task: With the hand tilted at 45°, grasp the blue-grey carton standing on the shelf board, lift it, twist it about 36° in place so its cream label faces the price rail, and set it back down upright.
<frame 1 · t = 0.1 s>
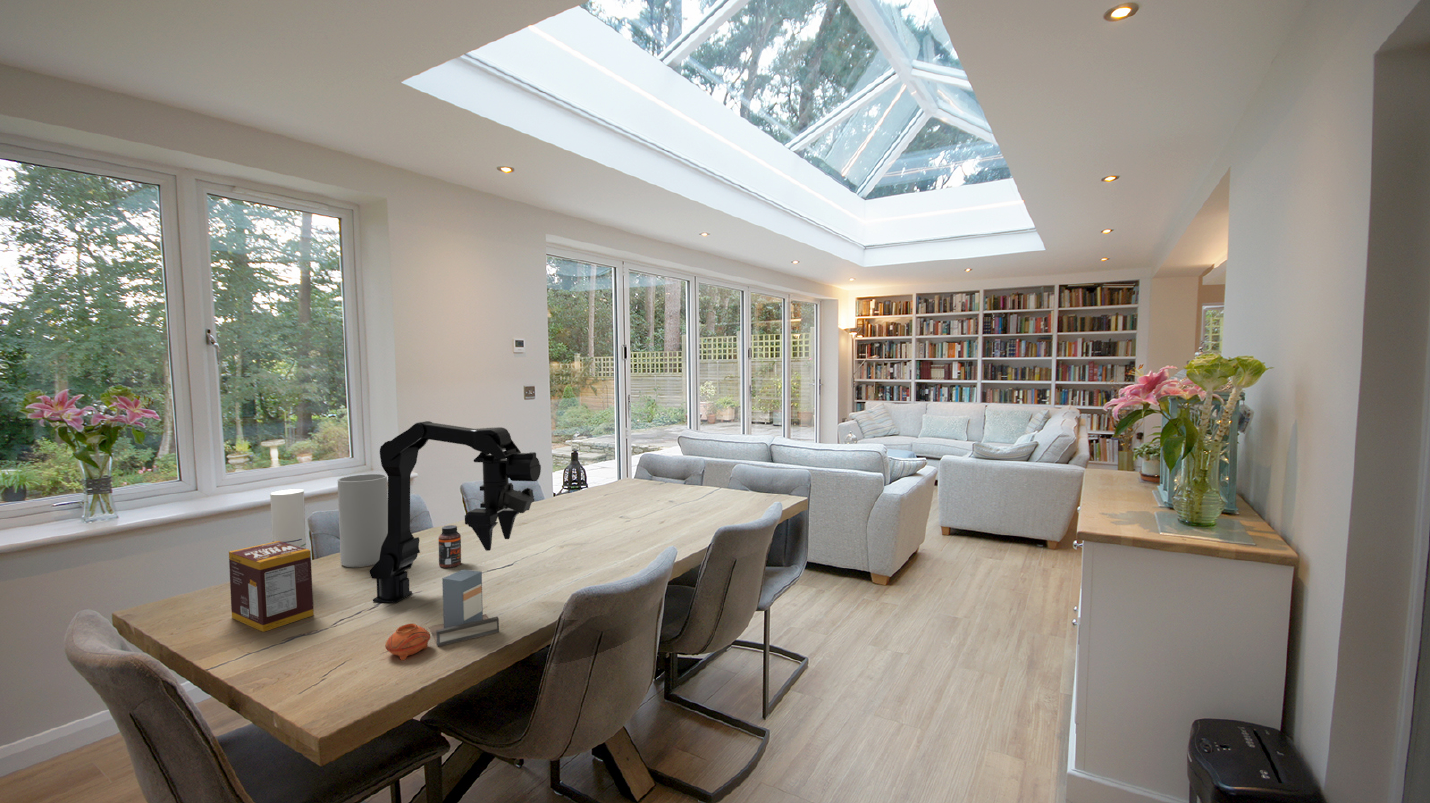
hand: (497, 544, 144), 15 cm above the table, tool pointing down, fingers open, 9 cm apart
blue-grey carton: (463, 629, 128), point 1 cm above the table, touching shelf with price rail
supplement box: (272, 617, 138), on the table
cylinder vase: (365, 561, 178), on the table
cylindrical container: (291, 586, 157), on the table
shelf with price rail: (463, 634, 128), on the table
supplement bottle: (450, 565, 174), on the table
pot: (408, 657, 119), on the table
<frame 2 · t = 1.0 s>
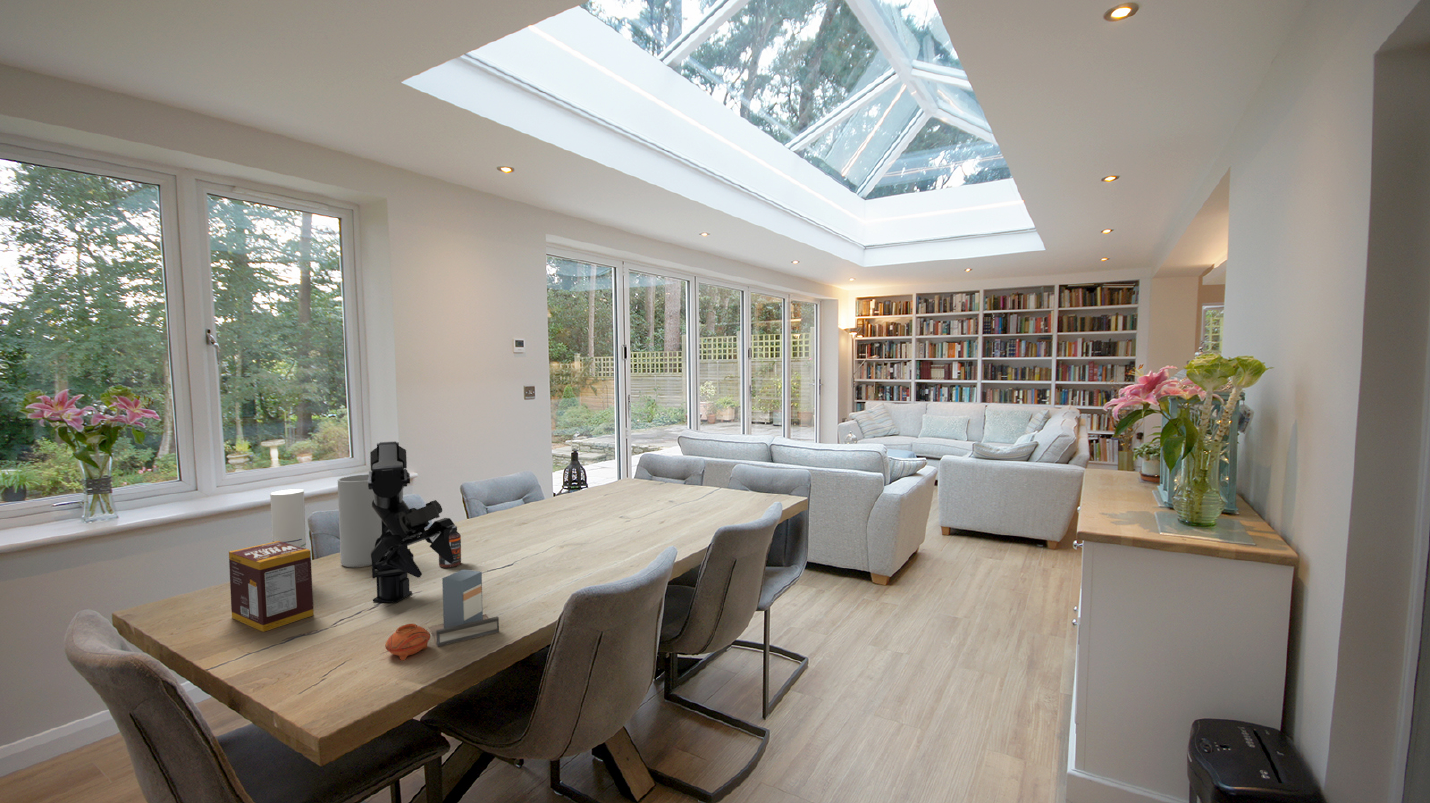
hand: (436, 569, 131), 13 cm above the table, tool tilted 45°, fingers open, 9 cm apart
nothing on the table moved.
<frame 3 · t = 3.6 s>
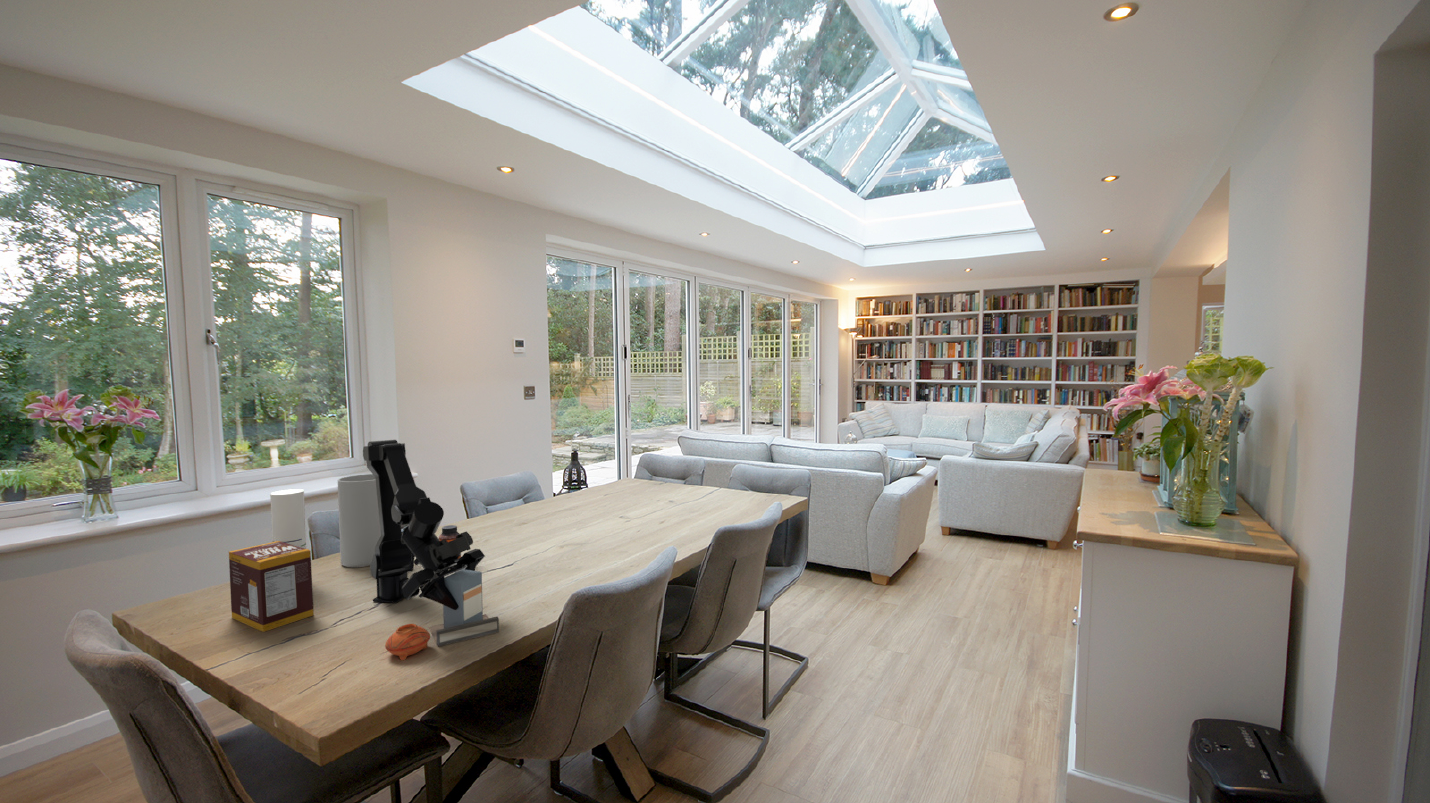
hand: (468, 602, 128), 7 cm above the table, tool tilted 45°, fingers closed on blue-grey carton, 6 cm apart
blue-grey carton: (463, 629, 128), point 1 cm above the table, touching gripper, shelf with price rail
everything else where it was.
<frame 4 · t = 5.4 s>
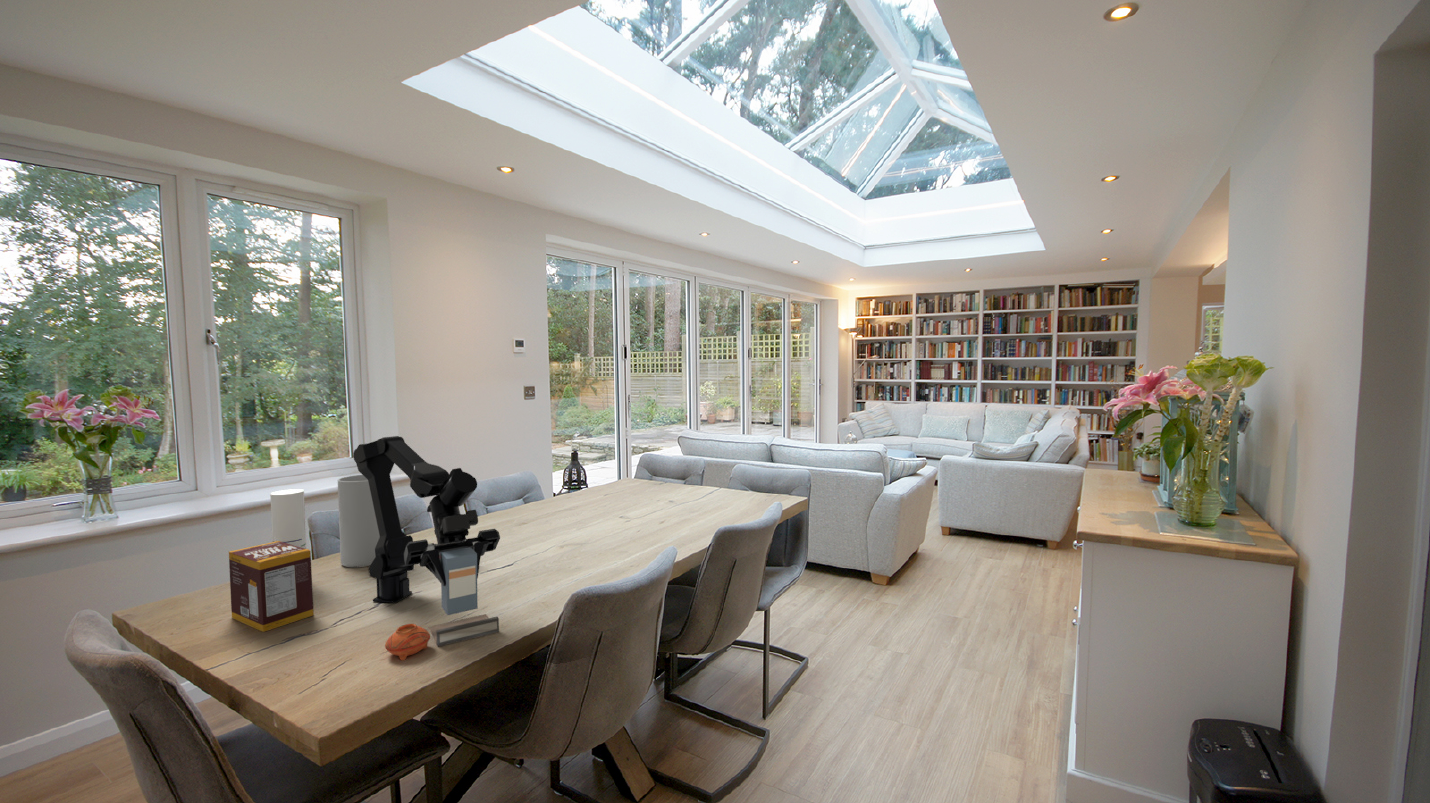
hand: (460, 581, 126), 12 cm above the table, tool tilted 45°, fingers closed on blue-grey carton, 6 cm apart
blue-grey carton: (459, 607, 128), point 6 cm above the table, touching gripper
everything else where it was.
when the fingers open (8 cm above the table, at t = 7.2 s): blue-grey carton drops 1 cm, resting on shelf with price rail.
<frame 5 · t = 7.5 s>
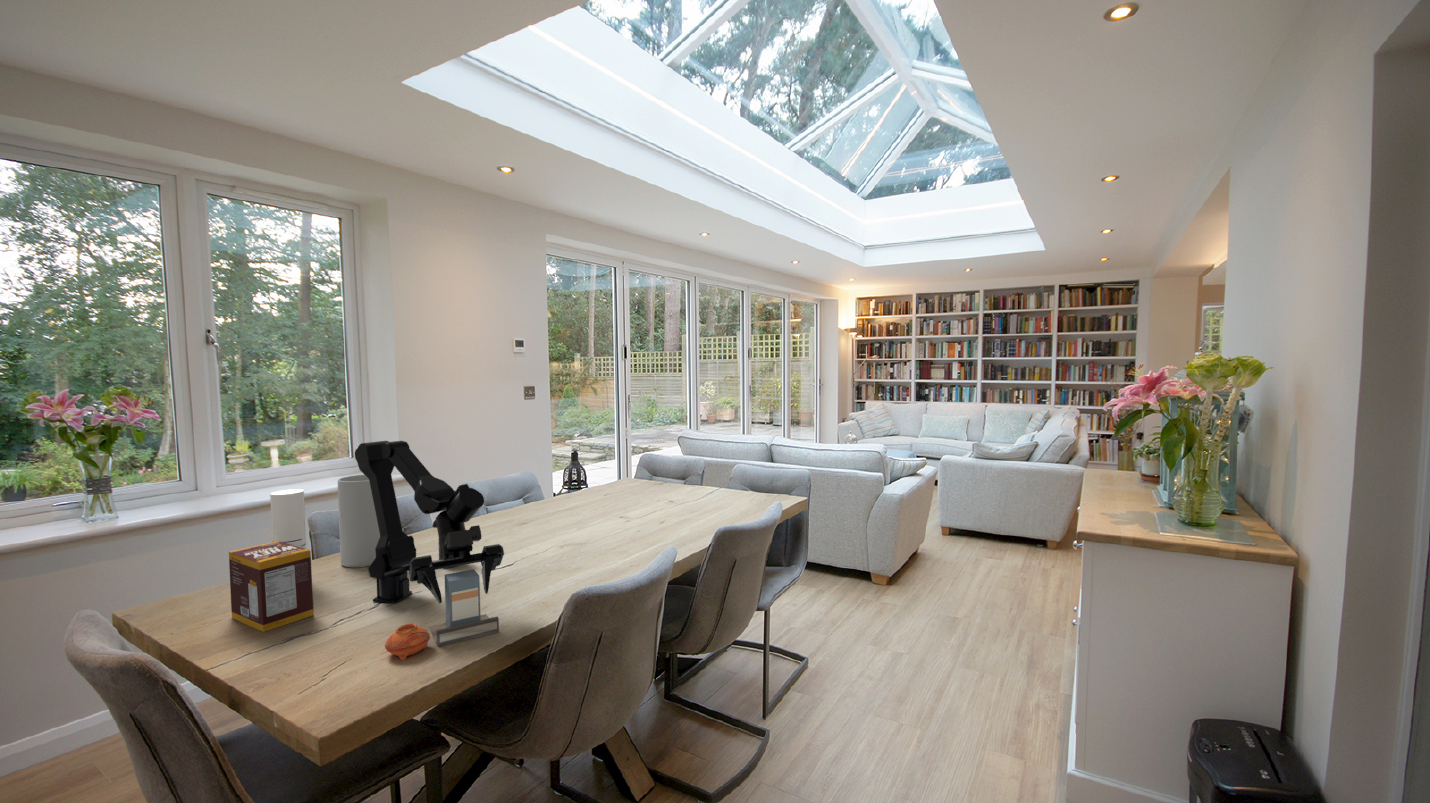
hand: (464, 597, 127), 9 cm above the table, tool tilted 45°, fingers open, 9 cm apart
blue-grey carton: (463, 629, 128), point 1 cm above the table, touching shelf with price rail
everything else where it was.
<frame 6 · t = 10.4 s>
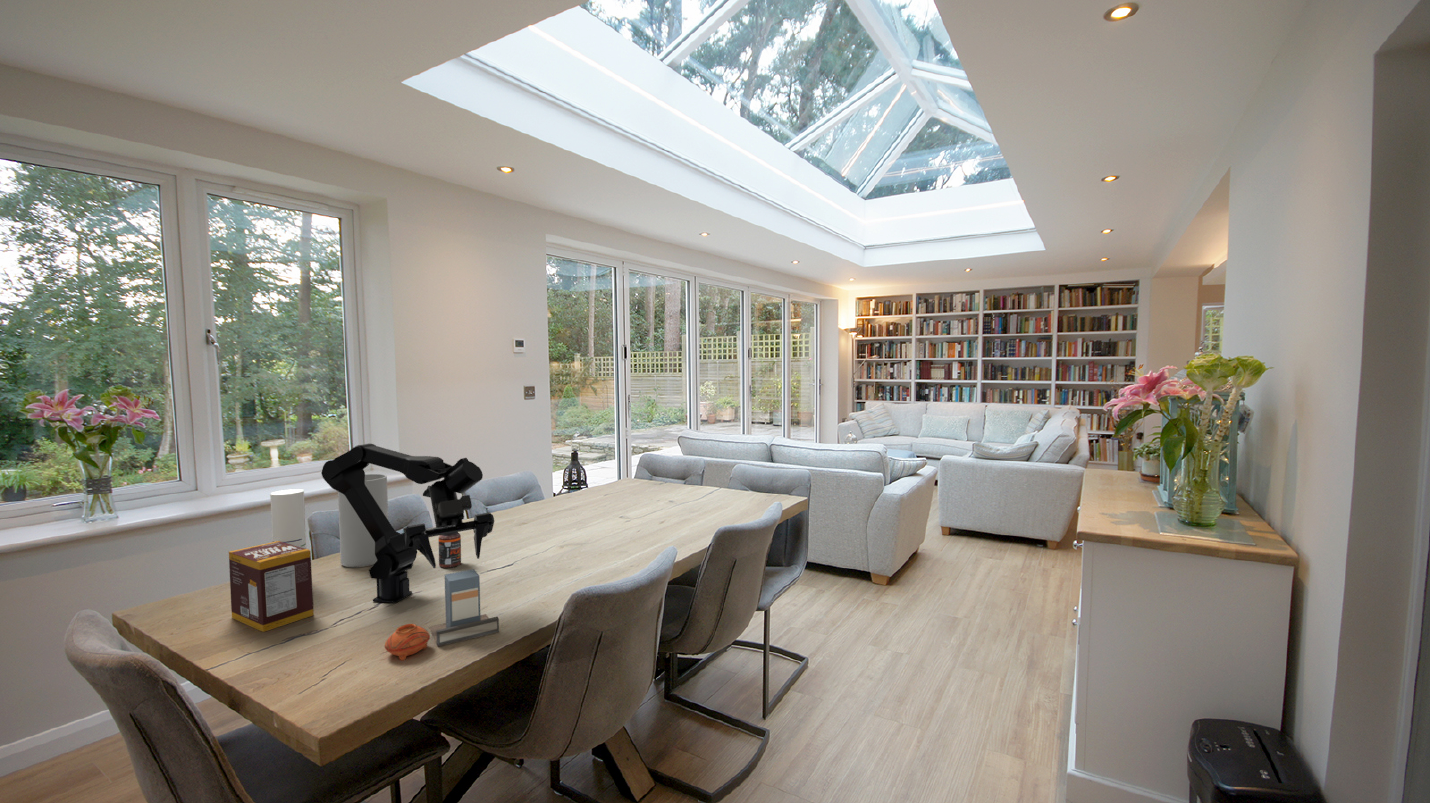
hand: (457, 562, 135), 13 cm above the table, tool tilted 45°, fingers open, 9 cm apart
nothing on the table moved.
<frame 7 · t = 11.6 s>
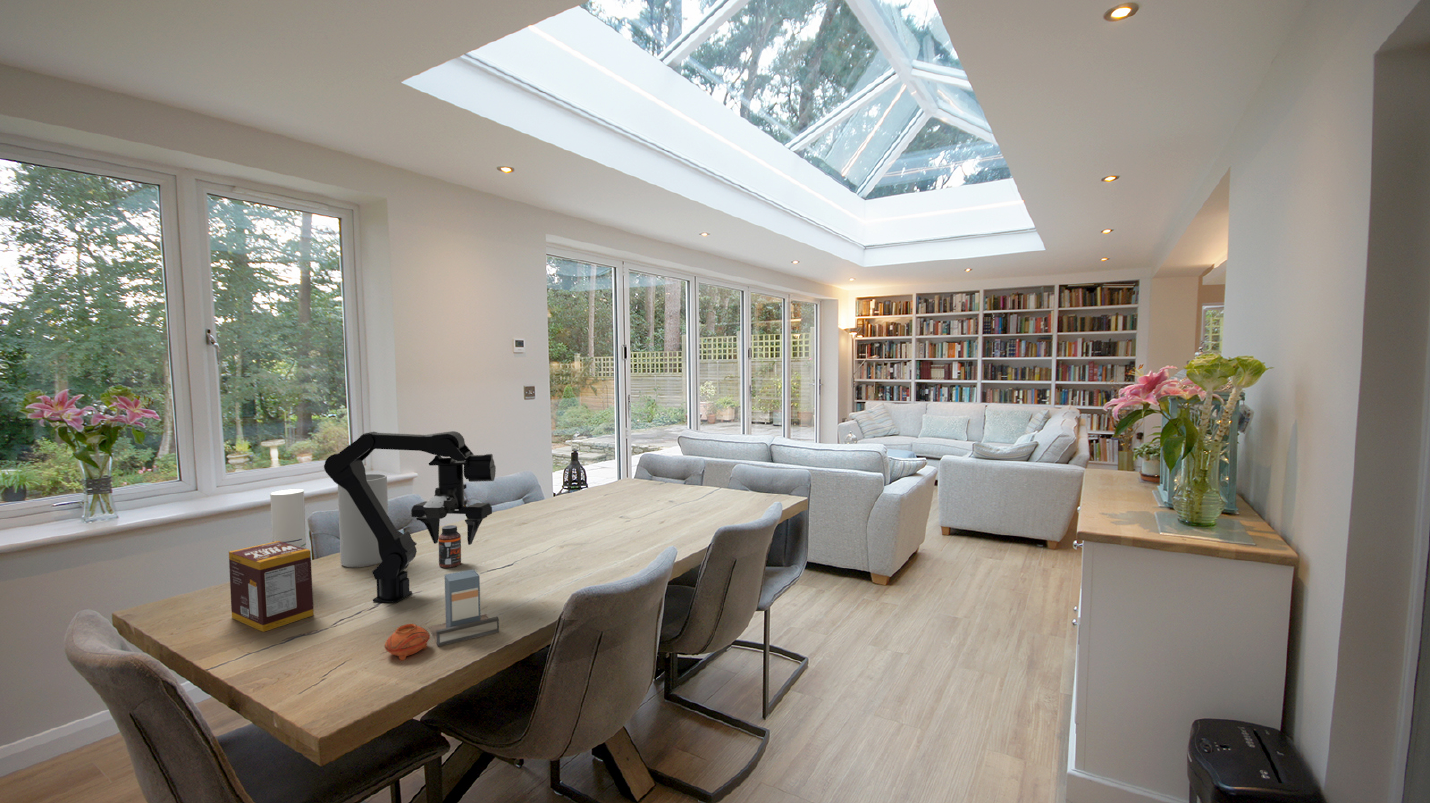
hand: (452, 543, 150), 13 cm above the table, tool pointing down, fingers open, 9 cm apart
nothing on the table moved.
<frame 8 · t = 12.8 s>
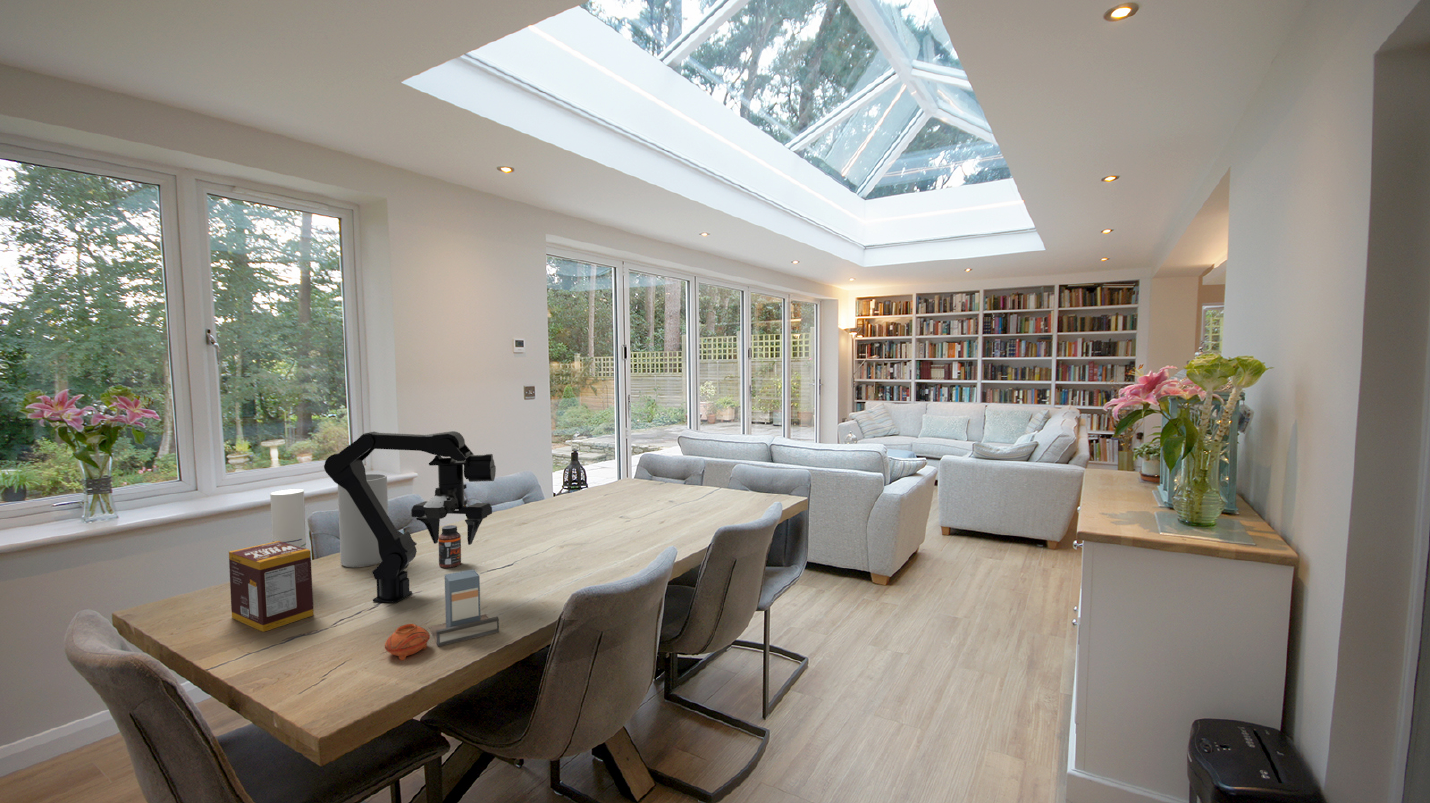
hand: (452, 543, 150), 13 cm above the table, tool pointing down, fingers open, 9 cm apart
nothing on the table moved.
at the end: blue-grey carton 0.1 cm off-centre on the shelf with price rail, point 1.0 cm above the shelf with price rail's base; blue-grey carton tilted 0°; the gripper is holding nothing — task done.
